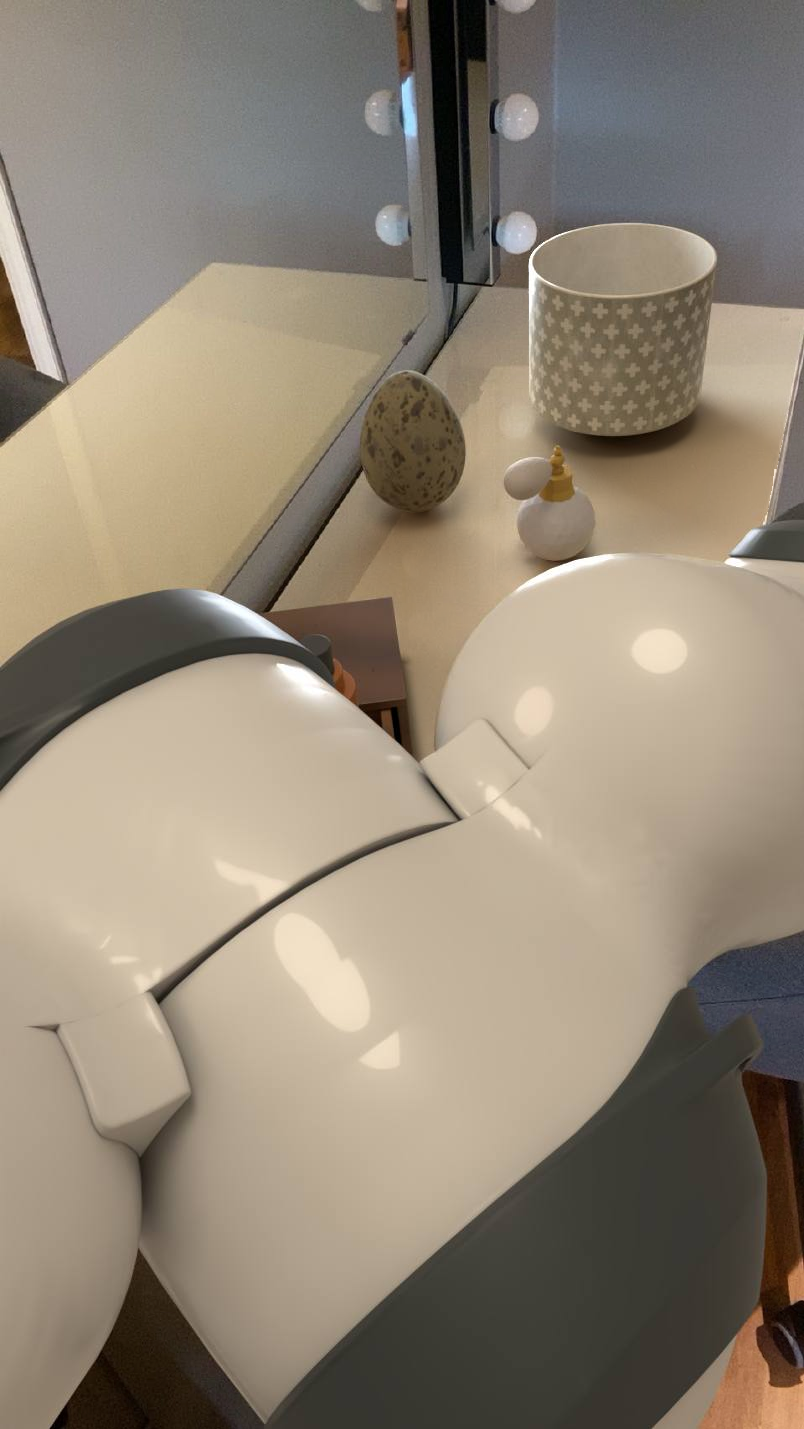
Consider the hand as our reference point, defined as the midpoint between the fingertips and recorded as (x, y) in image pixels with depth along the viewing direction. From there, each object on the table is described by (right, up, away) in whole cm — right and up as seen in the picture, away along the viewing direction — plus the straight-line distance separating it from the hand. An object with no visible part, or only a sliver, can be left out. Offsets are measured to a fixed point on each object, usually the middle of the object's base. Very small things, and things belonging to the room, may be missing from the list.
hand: (488, 711), depth 68 cm
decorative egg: (-4, +22, +43) cm, 49 cm away
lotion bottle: (-10, -7, +12) cm, 17 cm away
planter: (+19, +34, +53) cm, 65 cm away
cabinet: (-11, -1, +21) cm, 24 cm away
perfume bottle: (+9, +15, +35) cm, 39 cm away
